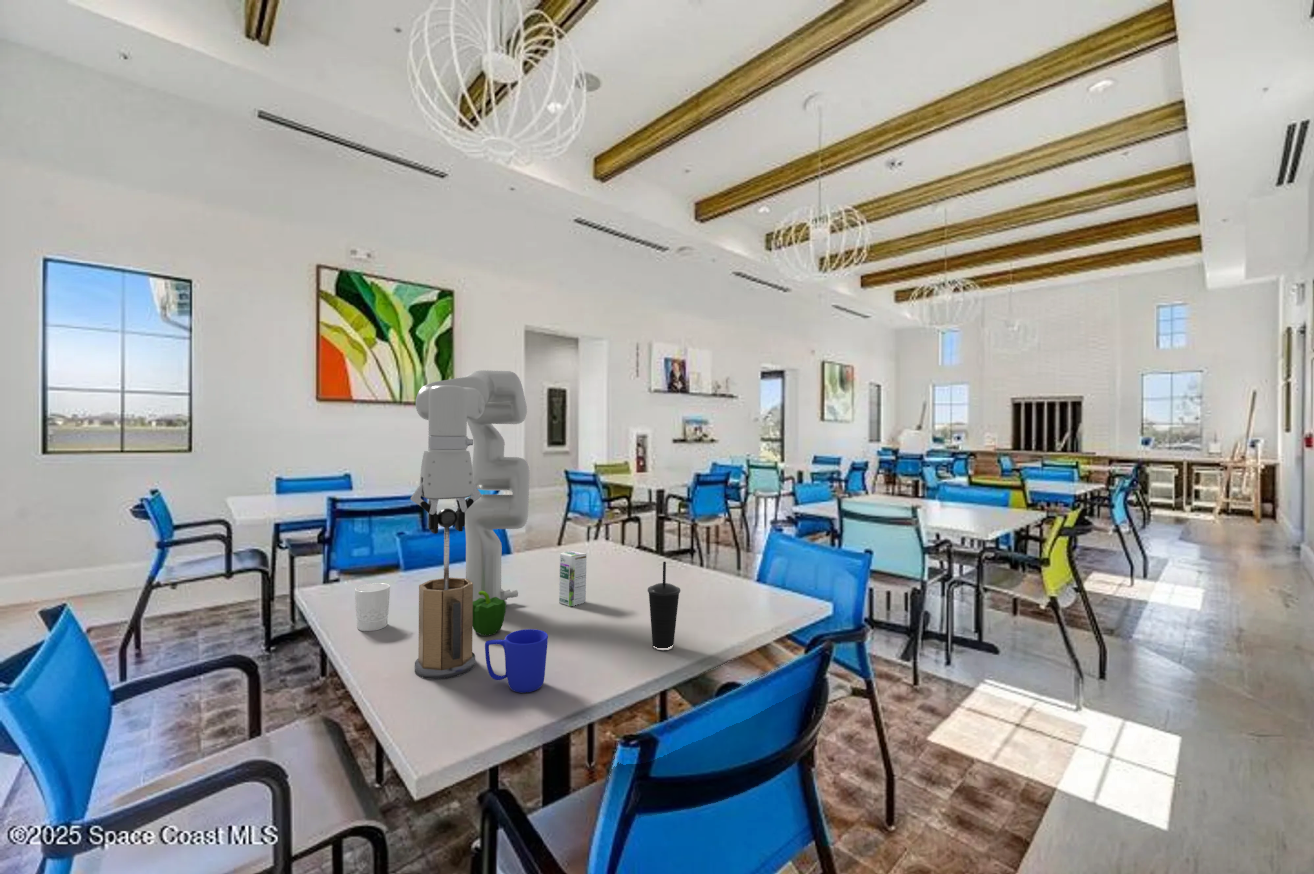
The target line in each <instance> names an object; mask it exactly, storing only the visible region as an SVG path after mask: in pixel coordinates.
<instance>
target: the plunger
mask: <svg viewBox="0 0 1314 874" xmlns="http://www.w3.org/2000/svg"><path fill="white" fill-rule="evenodd" d="M455 512H456V510H454V509H452V508H449V507H448V508H442V509H441V510H439V511H438V513H437V514H438V526H441V528H443V529H444V530H443V531H444V533H443V538H444V539H443V542H444V543H443V578H444V589H440V590H449V578H450V528H451V527H454V526H455V523H456V520H457V515H456V513H455Z"/></svg>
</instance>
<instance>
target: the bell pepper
mask: <svg viewBox="0 0 1314 874" xmlns="http://www.w3.org/2000/svg"><path fill="white" fill-rule="evenodd" d="M479 595H484V596H485V599H484V598H479V599H477V600H476V601H473V630H474V632H475V633H477V634H478V635H480V636H492V635H493V636H494V635H495V634H496V633H497V632H499V631H500V630H501V629H502V627H503V624H504V621H505V617H506V612H507V611H506V609H507V606H506V603H505V601H506V600H505V601H504V600H501V599H499V598H497V597H493V598H491V599H490V598H489V595H488V594H487V593H486V592H485V591H480V592H479Z"/></svg>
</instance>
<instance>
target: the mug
mask: <svg viewBox="0 0 1314 874" xmlns="http://www.w3.org/2000/svg"><path fill="white" fill-rule="evenodd" d="M548 642H549V635H548V633H547V632H546V631H544V630H540V629H534V628H527V629H526V628H525V629H519V630H514V631H512V632H510V633H508V634H507V635H506V636H505V637H504V639H491V640H486V641H485V642H484V653H485V654H484V655H485V662H486V663H485V664H486V669H487V672H488V674H489V676H490V677H491V678H492V679H493V680H495V681H502V680H504V679H506V680H507V685H508V687H509V689H511V690H512V691H513V692H516V693H519V694H520V693H521V694H522V693H523V694H525V693H526V692H527V693H532V692H535V691H537V690H539V689H540V688H541V687H542V686H543V685H544V681H545V678H546V677H545V675H546V674H545V673H546V664H547V652H548ZM490 645H499V646H502V649H503V650H504V662H505V664H504V665H505V674H504V675H499V674H496V673H495V672H494V670H493V667H492V664H491V658H490V656H491V655H490ZM527 693H526V694H527Z"/></svg>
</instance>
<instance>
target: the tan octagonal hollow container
mask: <svg viewBox="0 0 1314 874" xmlns="http://www.w3.org/2000/svg"><path fill="white" fill-rule="evenodd" d="M440 589H444V577H442V578H436V579H430V580H427V581H425V582H422V583H420V584H419V585H418V655H417V656H418V658H417V659H416V660H415V661H414V673H415V675H417V676H418V677H419V678H422V677H423V678H422V679H426V680H427V679H428V680H445V679H446V680H447V679H451V677H452V678H456V677H459V676H462V675H465V674H467V673H469V672H470V671H471V670H472V669H474V668H475V666H476V655H475V653H474V652H473V630H474V629H473V583H472V582H471V581H470V580H468V579H466V577H464V578H461V577H452V576H451V577H450V576H449V590H440ZM464 673H465V674H464Z"/></svg>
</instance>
